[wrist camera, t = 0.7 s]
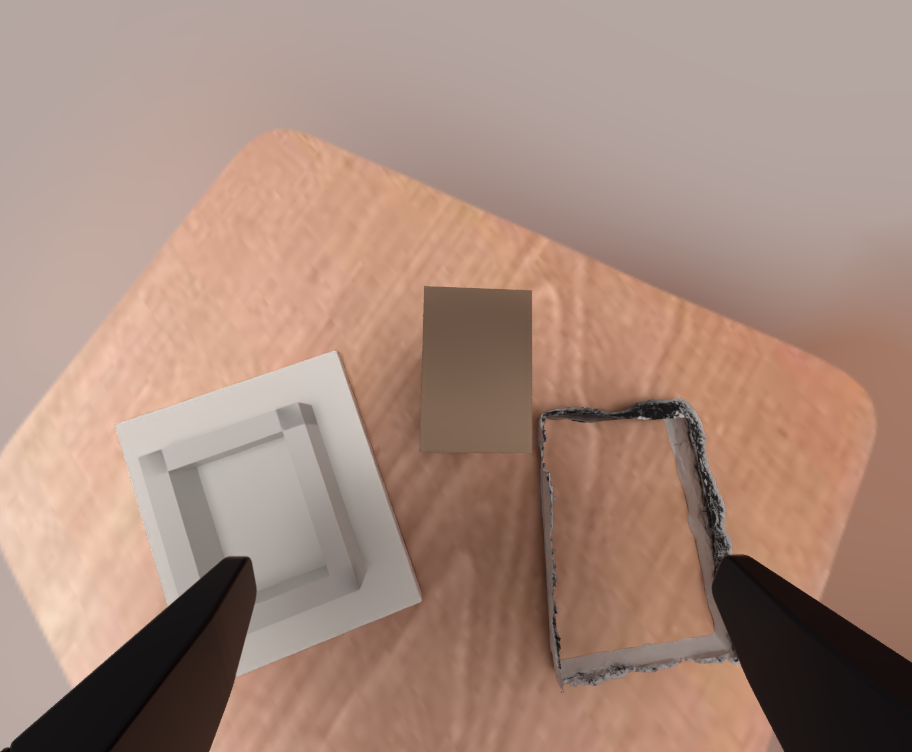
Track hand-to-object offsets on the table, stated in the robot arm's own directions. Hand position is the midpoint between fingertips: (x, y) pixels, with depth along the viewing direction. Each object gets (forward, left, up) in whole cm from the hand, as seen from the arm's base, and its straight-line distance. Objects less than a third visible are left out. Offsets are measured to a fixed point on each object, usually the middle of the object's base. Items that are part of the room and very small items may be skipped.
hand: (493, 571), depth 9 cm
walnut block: (+3, +3, -15) cm, 16 cm away
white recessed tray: (-7, +6, -15) cm, 18 cm away
